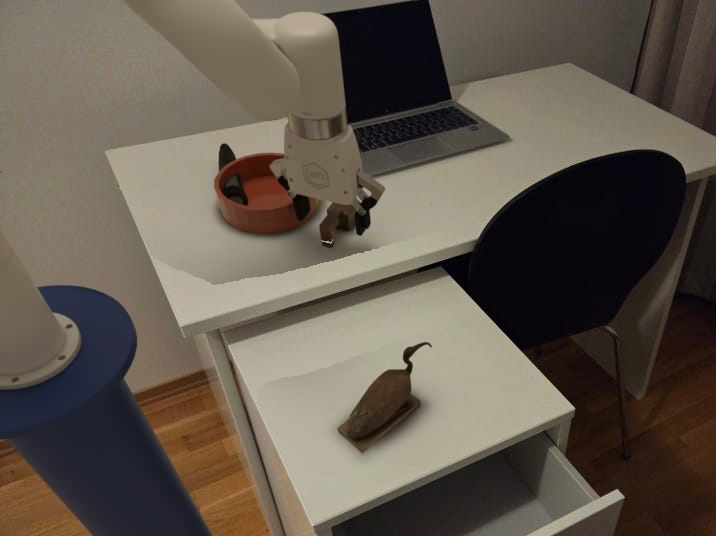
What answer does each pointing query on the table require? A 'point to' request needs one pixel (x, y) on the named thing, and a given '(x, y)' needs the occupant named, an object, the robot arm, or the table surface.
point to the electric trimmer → (231, 178)
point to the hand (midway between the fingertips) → (333, 222)
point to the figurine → (382, 405)
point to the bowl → (259, 196)
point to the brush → (336, 221)
